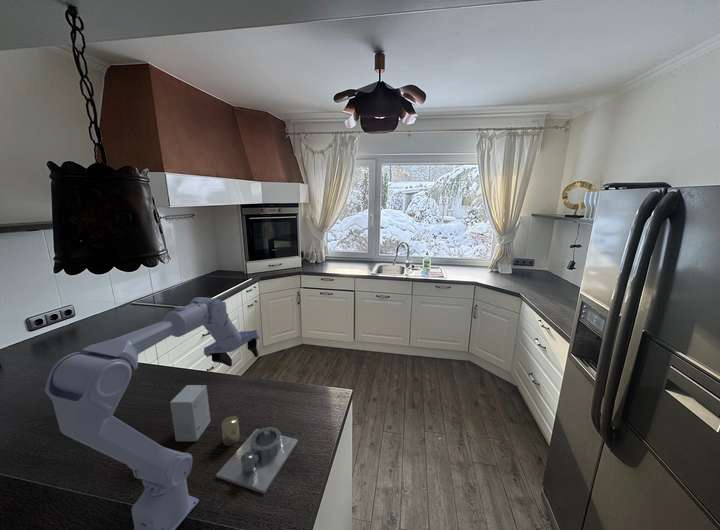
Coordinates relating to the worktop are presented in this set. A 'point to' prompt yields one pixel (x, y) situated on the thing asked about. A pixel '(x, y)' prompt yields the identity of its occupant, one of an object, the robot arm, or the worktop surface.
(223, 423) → the brass rounded plug
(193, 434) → the small box
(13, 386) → the worktop surface
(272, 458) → the manifold plate
